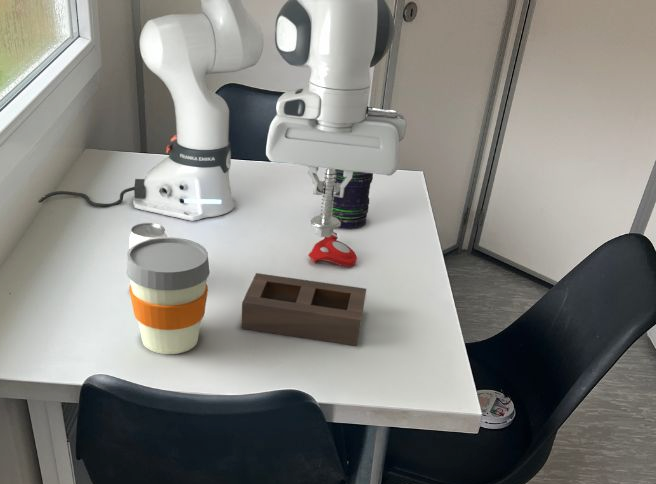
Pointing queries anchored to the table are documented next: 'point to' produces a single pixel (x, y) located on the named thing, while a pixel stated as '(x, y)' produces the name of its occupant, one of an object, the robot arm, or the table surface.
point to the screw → (327, 208)
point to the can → (146, 232)
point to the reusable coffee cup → (168, 292)
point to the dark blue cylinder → (352, 200)
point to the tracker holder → (333, 251)
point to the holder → (303, 309)
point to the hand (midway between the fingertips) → (328, 194)
